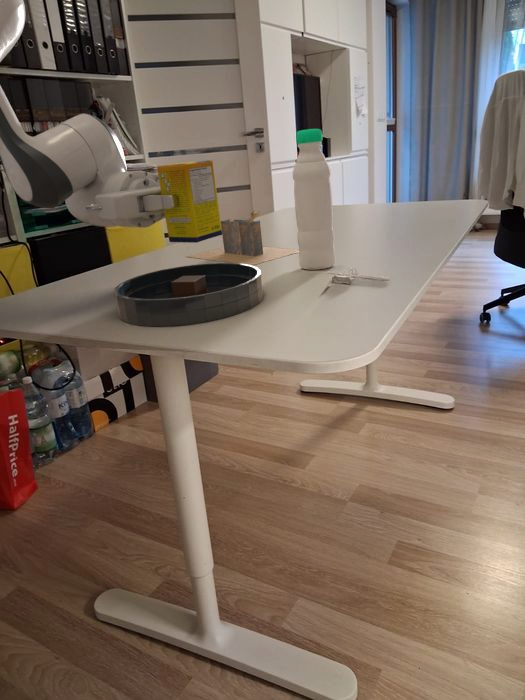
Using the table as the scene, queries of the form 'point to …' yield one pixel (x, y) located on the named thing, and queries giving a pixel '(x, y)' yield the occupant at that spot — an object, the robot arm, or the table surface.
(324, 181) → the water bottle
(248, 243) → the architectural model on board
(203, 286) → the block
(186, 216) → the supplement box
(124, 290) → the bowl
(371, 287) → the table surface
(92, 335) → the table surface
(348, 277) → the picture light
